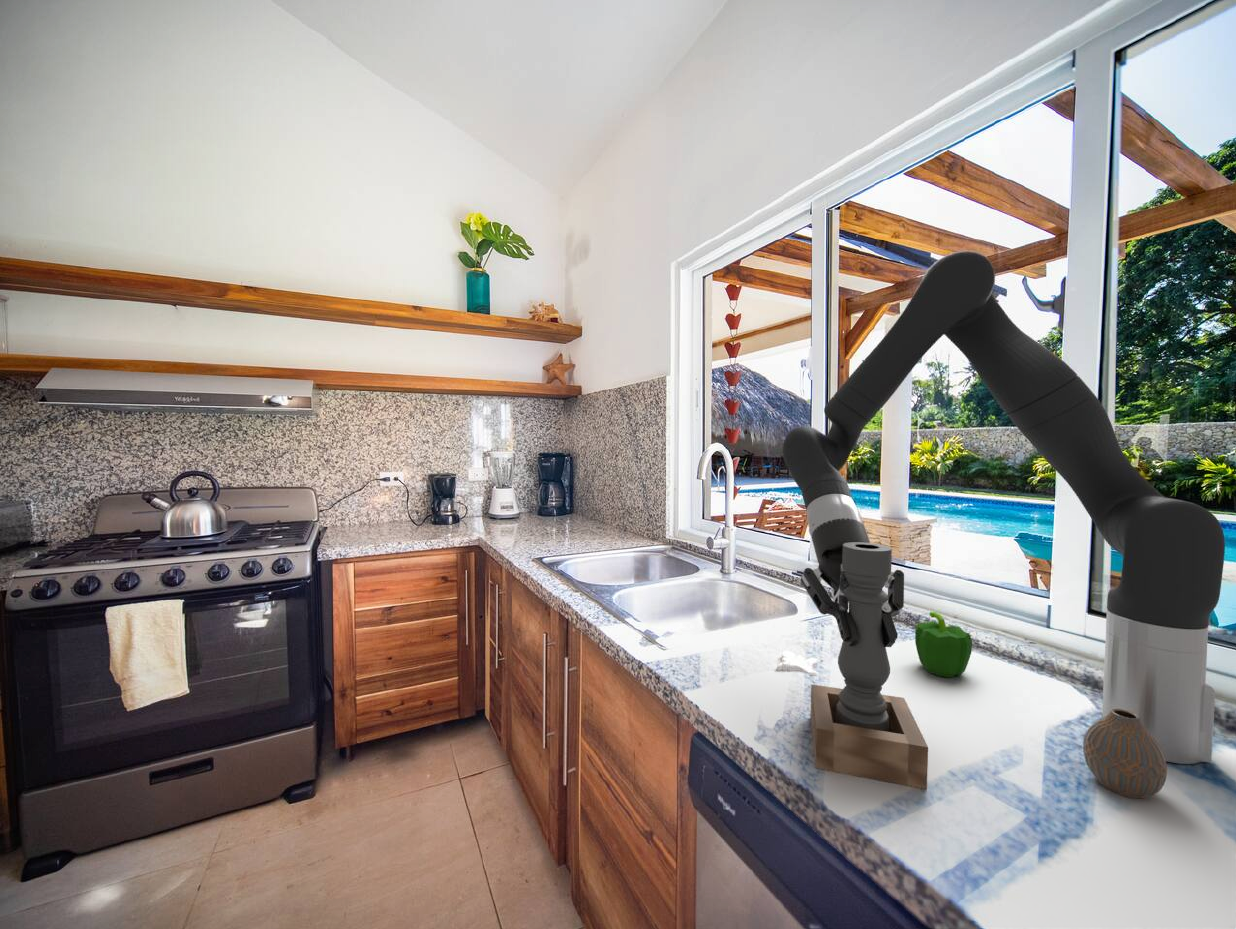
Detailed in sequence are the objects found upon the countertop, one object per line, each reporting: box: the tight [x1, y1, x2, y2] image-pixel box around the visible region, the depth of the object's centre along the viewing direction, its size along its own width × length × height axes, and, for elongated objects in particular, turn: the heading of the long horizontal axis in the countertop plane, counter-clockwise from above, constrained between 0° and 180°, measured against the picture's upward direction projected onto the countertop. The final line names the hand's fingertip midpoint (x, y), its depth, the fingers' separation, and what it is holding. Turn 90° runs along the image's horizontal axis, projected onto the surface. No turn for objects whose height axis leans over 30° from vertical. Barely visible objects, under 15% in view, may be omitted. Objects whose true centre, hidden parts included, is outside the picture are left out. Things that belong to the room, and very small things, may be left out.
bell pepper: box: [914, 611, 973, 678], centre depth 89 cm, size 8×8×10 cm
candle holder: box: [836, 542, 893, 732], centre depth 65 cm, size 6×6×25 cm
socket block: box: [809, 683, 929, 790], centre depth 65 cm, size 12×12×5 cm
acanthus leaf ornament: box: [776, 650, 821, 677], centre depth 91 cm, size 8×7×2 cm
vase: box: [1082, 709, 1168, 799], centre depth 59 cm, size 7×7×9 cm
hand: (871, 643), depth 63 cm, fingers closed on candle holder, 4 cm apart
